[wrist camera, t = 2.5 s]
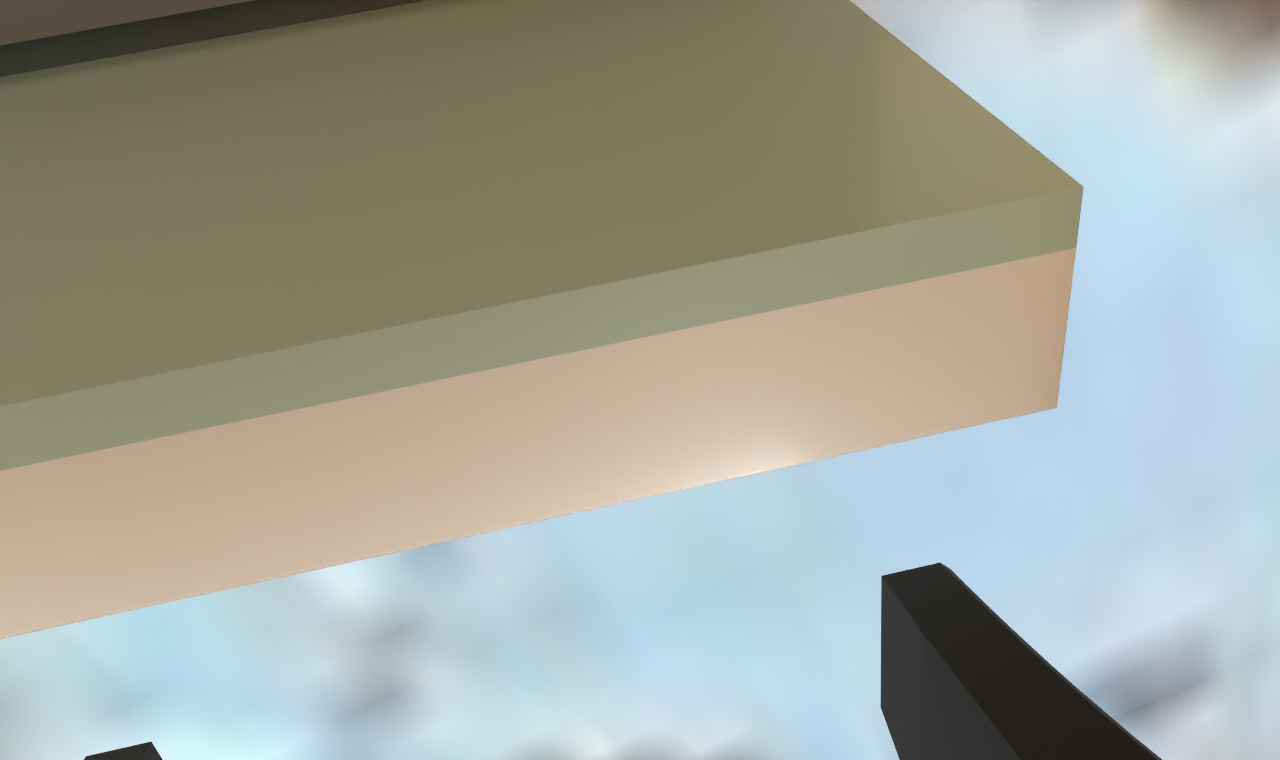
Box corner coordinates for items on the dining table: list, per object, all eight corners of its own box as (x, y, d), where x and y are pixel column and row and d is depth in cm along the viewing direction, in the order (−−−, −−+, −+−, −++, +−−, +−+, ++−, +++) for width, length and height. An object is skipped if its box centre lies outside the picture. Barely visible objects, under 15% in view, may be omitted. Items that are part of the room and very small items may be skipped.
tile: (-26, 235, 12) (-375, 720, 6) (-103, 94, 11) (-582, 522, 6) (777, 83, 12) (1057, 407, 7) (770, -63, 12) (1083, 187, 6)
